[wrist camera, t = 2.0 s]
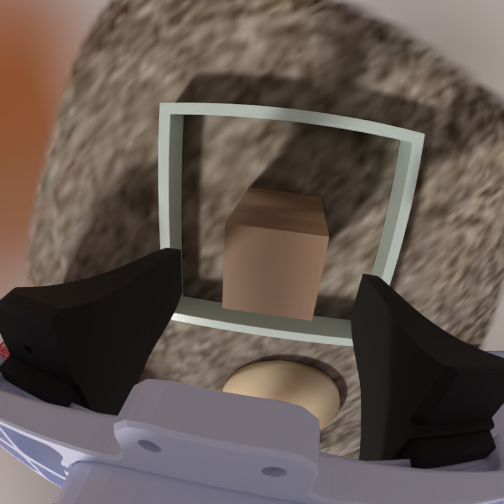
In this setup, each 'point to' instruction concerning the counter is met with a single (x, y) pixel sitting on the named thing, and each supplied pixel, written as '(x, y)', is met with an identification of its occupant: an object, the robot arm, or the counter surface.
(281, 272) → the walnut block
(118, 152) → the counter surface
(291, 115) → the pale green square frame
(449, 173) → the counter surface
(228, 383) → the oak coaster
